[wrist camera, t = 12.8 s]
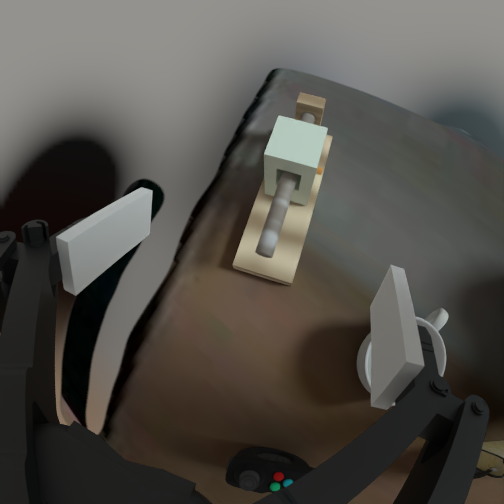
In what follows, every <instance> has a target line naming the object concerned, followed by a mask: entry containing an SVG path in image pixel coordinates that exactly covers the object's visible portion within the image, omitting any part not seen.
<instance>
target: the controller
mask: <svg viewBox="0 0 504 504" xmlns="http://www.w3.org/2000/svg"><path fill="white" fill-rule="evenodd" d="M313 469H315V468H312V467H310V466H309V465H308V464H307V463H306V462H305V461H304V460H303V459H301V458H299V457H297V456H295V455H293V454H290V453H287V452H284V451H280V450H276V449H271V448H262V447H254V448H247V449H243V450H241V451H240V452H238V453H237V454H236V456H235V457H232V456H231V457H230V459H229V461H228V465H227V468H226V470H227V472H226V482H227V483H228V484H229V485H232V486H234V487H238V488H242V489H243V490H246V491H253V492H257V493H266V492H272V493H274V492H276V491H278V490H280V489H283V488H285V487H287V486H288V485H290V484H292V483H293V482H295V481H296V480H298V479H300V478H301V477H303V476H304V475H306V474H307V473H309V472H310V471H312V470H313Z"/></svg>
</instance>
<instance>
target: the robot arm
mask: <svg viewBox="0 0 504 504" xmlns="http://www.w3.org/2000/svg"><path fill="white" fill-rule="evenodd" d="M151 206H152V190H149V189H145V188H142V187H141V188H139V189H137V190H136V191H134V192H132V193H130V194H128V195H126V196H124V197H123V198H121V199H119V200H117V201H115V202H114V203H112V204H110V205H108V206H106V207H105V208H103V209H101V210H100V211H98V212H96V213H94V214H93V215H91V216H89V217H85V218H82V219H79V220H77V221H76V222H74V223H72V225H69V226H67V227H66V228H64V229H62V230H61V231H59V232H58V233H56V234H54V235H53V236H51V237H50V238H49V231H48V223H47V222H45V221H43V220H34V221H30V222H28V223H26V224H24V225H23V226H22V228H21V230H22V236H23V241H24V243H19V242H16V237H15V233H13V232H10V231H4V232H1V233H0V275H1V278H0V333H1V335H0V504H212V503H211V502H210V501H209V500H208V499H207V498H205V497H204V496H203V495H202V494H200V493H199V492H198V491H196V490H195V485H196V483H193V482H191V481H188V480H186V479H183V478H181V477H179V476H176V475H174V474H172V473H169V472H167V471H165V470H163V469H158V468H153V467H149V466H145V465H141V464H137V463H133V462H129V461H127V460H125V459H123V458H122V457H121V456H120V455H119V454H118V453H117V452H116V451H115V450H113V449H112V448H111V447H110V446H109V445H108V444H107V443H106V442H105V441H104V440H103V439H102V438H101V437H100V436H98V435H96V434H95V433H93V432H91V431H90V430H88V429H87V428H85V427H83V426H82V425H80V424H79V423H77V422H76V421H73V423H72V424H71V425H70V426H67V425H63V424H60V422H59V419H58V416H57V411H56V397H55V327H56V310H57V298H58V286H57V283H58V282H59V281H60V280H63V285H64V289H65V290H66V291H68V292H70V293H72V294H74V295H75V296H76V295H77V294H78V293H79V292H81V291H82V290H83V289H84V288H85V287H86V286H87V285H89V284H90V283H91V282H92V281H93V280H94V279H96V278H97V277H98V276H99V275H100V274H102V273H103V272H104V271H105V270H106V269H107V268H109V267H110V266H111V265H112V264H113V263H115V262H116V261H117V260H118V259H120V258H121V257H122V256H123V255H124V254H126V253H127V252H128V251H129V250H131V249H132V248H133V247H134V246H136V245H137V244H138V243H139V242H141V241H142V240H143V239H144V238H146V237H147V236H148V235H149V234H150V224H151ZM370 316H371V406H372V407H376V408H381V409H385V410H388V409H389V407H390V406H391V405H392V404H393V403H394V402H395V406H394V407H393V408H392V409H390V410H389V411H388V412H387V413H386V414H385V415H384V416H383V417H381V418H380V419H379V420H378V421H377V422H376V423H374V424H373V425H372V426H371V427H370V428H368V429H367V430H366V431H365V432H364V433H362V434H361V435H360V436H359V437H357V438H356V439H355V440H353V441H352V442H351V443H350V444H348V445H347V446H346V447H344V448H343V449H342V450H340V451H339V452H338V453H336V454H335V455H334V456H332V457H331V458H329V459H328V460H327V461H325V462H324V463H322V464H321V465H319V466H318V467H316V468H315V469H313V470H312V471H310V472H309V473H307V474H306V475H304V476H303V477H301V478H300V479H298V480H296V481H295V482H293V483H292V484H290V485H288V486H287V487H285V488H283V489H280V490H278V491H276V492H274V493H272V494H270V495H268V496H266V497H264V498H263V499H261V500H259V501H257V502H255V503H253V504H347V503H348V502H350V501H351V500H352V499H353V498H354V497H356V496H357V495H358V494H359V493H360V492H361V491H363V490H364V489H365V488H366V487H367V486H368V485H369V484H371V483H372V482H373V481H374V480H375V479H376V478H377V477H378V476H379V475H380V474H381V473H382V472H383V471H385V470H386V469H387V468H388V467H389V466H390V465H391V464H392V463H393V462H394V461H395V460H396V459H397V458H398V457H399V456H400V455H401V454H402V453H403V451H404V450H405V449H406V448H407V447H408V446H409V445H410V444H411V443H412V442H413V441H414V440H415V439H416V437H417V436H419V437H421V438H423V439H425V440H426V442H425V444H424V446H423V448H422V450H421V452H420V454H419V456H418V459H417V461H416V463H415V465H414V467H413V468H412V470H411V472H410V474H409V476H408V478H407V480H406V482H405V484H404V485H403V487H402V489H401V491H400V492H399V494H398V496H397V498H396V499H395V501H394V503H393V504H464V503H465V500H466V497H467V495H468V492H469V489H470V486H471V483H472V480H473V477H474V474H475V471H476V467H477V464H478V461H479V457H480V453H481V450H482V446H483V442H484V438H485V433H486V429H487V424H488V419H489V408H488V405H487V404H486V402H485V401H484V400H483V399H482V398H481V397H479V396H477V395H471V396H469V397H468V398H467V399H466V400H465V401H463V400H461V399H459V398H457V397H456V396H454V395H452V394H451V388H450V386H449V384H448V382H447V381H446V380H445V379H444V378H443V377H441V376H440V375H439V372H438V367H437V362H436V357H435V353H434V347H433V343H432V338H431V335H430V334H429V332H428V331H427V329H426V327H423V326H419V325H417V322H416V317H415V313H414V308H413V304H412V300H411V295H410V291H409V287H408V283H407V279H406V275H405V272H404V269H402V268H399V267H396V266H393V265H390V267H389V270H388V272H387V274H386V276H385V278H384V280H383V282H382V284H381V286H380V288H379V290H378V292H377V294H376V296H375V298H374V300H373V302H372V304H371V306H370Z"/></svg>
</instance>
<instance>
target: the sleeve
mask: <svg viewBox="0 0 504 504" xmlns="http://www.w3.org/2000/svg"><path fill="white" fill-rule="evenodd" d="M327 129H328V128H325V127H322V126H318V125H314V124H311V123H307V122H303V121H299V120H295V119H291V118H287V117H283V116H278V119H277V121H276V124H275V127H274V129H273V132H272V134H271V137H270V139H269V142H268V145H267V147H266V150H265V153H264V180H265V194H267V195H271V196H274V194H275V192H276V189H277V186H278V183H279V180H280V177H281V174H282V171H283V170H284V171H288V172H291V173H295V174H298V178H297V181H296V184H295V187H294V191H293V194H292V197H291V200H290V201H292V202H295V203H299V204H302V205H305V206H307V203H308V200H309V196H310V193H311V189H312V186H313V182H314V179H315V175H316V171H317V168H318V164H319V160H320V156H321V153H322V149H323V145H324V141H325V137H326V133H327Z"/></svg>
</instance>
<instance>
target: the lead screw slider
mask: <svg viewBox="0 0 504 504" xmlns="http://www.w3.org/2000/svg"><path fill="white" fill-rule="evenodd" d="M325 102H326V99H325V98H321V97H317V96H313V95H309V94H305V93H301V92H300V95H299V97H298V100H297V106H296V115H295V120H299V121H303V122H307V123H311V124H314V125H318V126H320V125H321V121H322V116H323V111H324V107H325ZM331 141H332V136H329V135H326V137H325V141H324V145H323V149H322V153H321V156H320V160H319V164H318V168H317V171H316V175H315V179H314V182H313V186H312V189H311V193H310V196H309V200H308V203H307V206H305V205H302V204H299V203H295V202H292V201H290V200H291V197H292V194H293V191H294V187H295V184H296V181H297V178H298V174H295V173H291V172H288V171H284V170H283V171H282V174H281V177H280V180H279V183H278V186H277V189H276V192H275V194H274V196H271V195H267V194H265V180H264V178H263V181H262V183H261V186H260V189H259V192H258V194H257V197H256V200H255V203H254V206H253V208H252V211H251V214H250V217H249V219H248V222H247V225H246V228H245V231H244V233H243V236H242V239H241V242H240V245H239V248H238V250H237V253H236V256H235V259H234V262H233V268H234V269H237V270H240V271H244V272H247V273H250V274H253V275H256V276H260V277H263V278H266V279H269V280H272V281H276V282H279V283H282V284H285V285H289V286H291V284H292V281H293V278H294V274H295V271H296V268H297V264H298V261H299V258H300V254H301V251H302V247H303V244H304V241H305V237H306V234H307V230H308V227H309V223H310V220H311V216H312V212H313V209H314V205H315V202H316V198H317V194H318V191H319V187H320V183H321V179H322V176H323V172H324V168H325V164H326V160H327V156H328V153H329V149H330V145H331Z"/></svg>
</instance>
